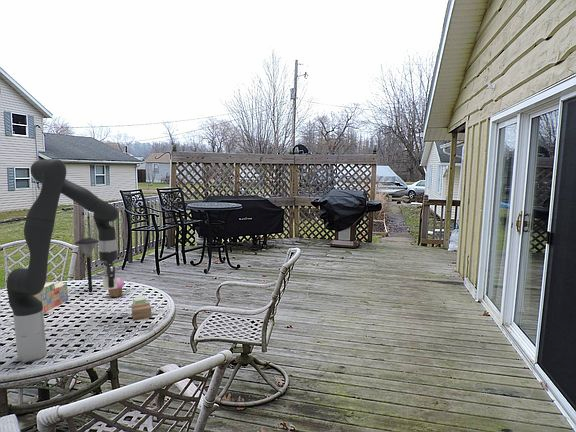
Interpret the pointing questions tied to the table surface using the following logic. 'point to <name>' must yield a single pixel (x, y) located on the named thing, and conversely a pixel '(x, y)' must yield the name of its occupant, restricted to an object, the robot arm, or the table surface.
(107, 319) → the table surface
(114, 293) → the cupcake
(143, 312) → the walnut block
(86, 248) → the solar garden light
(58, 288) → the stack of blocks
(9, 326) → the table surface
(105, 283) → the cream cube
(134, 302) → the sage green cube
